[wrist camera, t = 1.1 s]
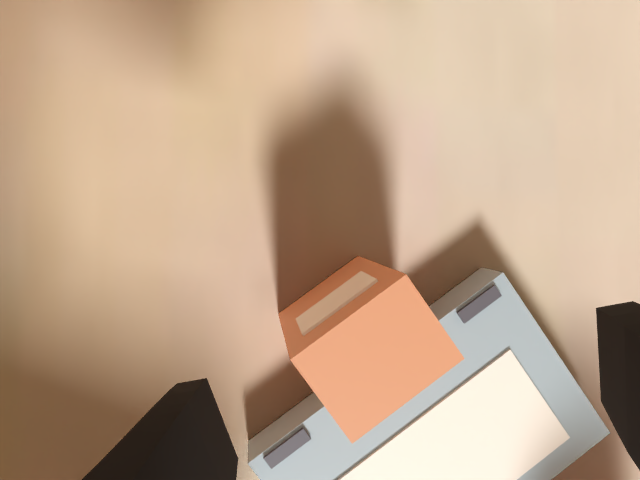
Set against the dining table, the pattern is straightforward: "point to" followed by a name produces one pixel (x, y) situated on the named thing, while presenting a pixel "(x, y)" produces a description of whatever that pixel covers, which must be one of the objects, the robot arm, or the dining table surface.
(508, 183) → the dining table surface
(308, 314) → the stub tab
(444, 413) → the pad
